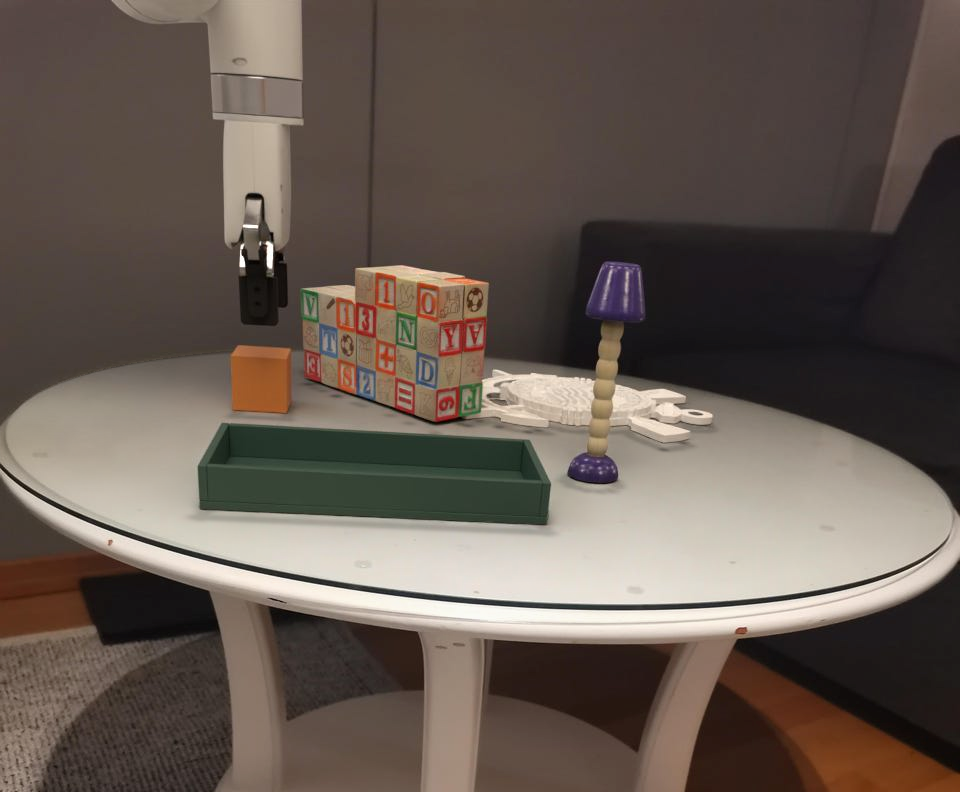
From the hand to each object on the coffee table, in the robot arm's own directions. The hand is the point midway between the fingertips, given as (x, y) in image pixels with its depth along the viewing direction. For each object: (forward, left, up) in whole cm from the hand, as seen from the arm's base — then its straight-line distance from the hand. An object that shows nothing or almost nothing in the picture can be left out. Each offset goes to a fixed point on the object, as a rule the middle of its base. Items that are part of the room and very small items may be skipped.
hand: (265, 315), depth 90 cm
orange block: (0, 0, -8) cm, 8 cm away
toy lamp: (+29, -17, -9) cm, 34 cm away
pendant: (+32, +7, -9) cm, 33 cm away
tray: (+11, -24, -8) cm, 28 cm away
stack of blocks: (+12, +6, -8) cm, 15 cm away
